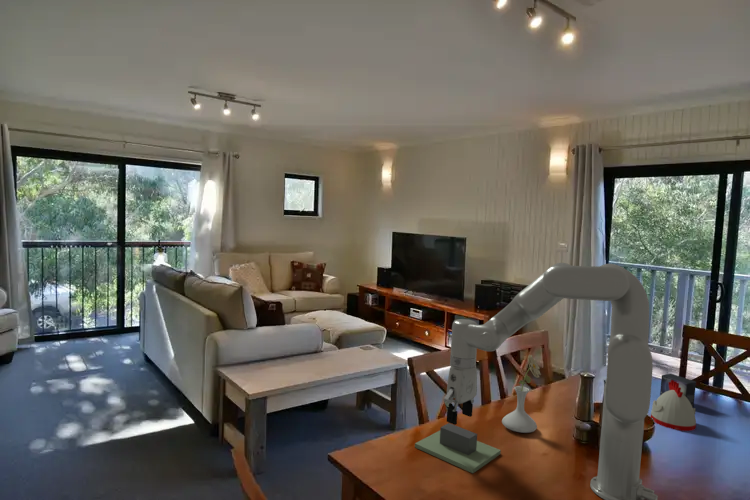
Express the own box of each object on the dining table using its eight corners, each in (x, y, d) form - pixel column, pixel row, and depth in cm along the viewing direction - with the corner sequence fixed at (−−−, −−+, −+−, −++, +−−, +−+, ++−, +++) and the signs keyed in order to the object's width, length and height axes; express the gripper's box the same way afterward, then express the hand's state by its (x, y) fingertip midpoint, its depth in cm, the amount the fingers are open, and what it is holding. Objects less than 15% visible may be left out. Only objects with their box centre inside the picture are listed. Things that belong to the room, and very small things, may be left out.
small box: (658, 399, 195) (660, 374, 194) (668, 397, 198) (670, 373, 197) (684, 409, 185) (686, 383, 185) (694, 407, 188) (697, 381, 187)
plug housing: (476, 450, 140) (477, 433, 140) (468, 455, 137) (469, 438, 136) (447, 438, 147) (448, 423, 146) (439, 443, 143) (440, 427, 143)
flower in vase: (522, 439, 152) (528, 363, 150) (494, 425, 161) (499, 353, 159) (546, 430, 159) (552, 357, 158) (518, 417, 169) (523, 349, 167)
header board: (500, 454, 141) (501, 437, 141) (472, 473, 129) (474, 455, 129) (444, 431, 154) (445, 416, 154) (414, 447, 143) (415, 430, 142)
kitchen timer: (682, 416, 178) (686, 377, 177) (704, 432, 164) (708, 390, 163) (643, 413, 179) (647, 374, 178) (662, 429, 165) (665, 387, 164)
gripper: (457, 370, 131) (454, 432, 132) (488, 359, 144) (485, 415, 145) (435, 364, 136) (432, 423, 137) (467, 353, 149) (464, 407, 150)
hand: (459, 418), depth 141 cm, fingers open, 7 cm apart
